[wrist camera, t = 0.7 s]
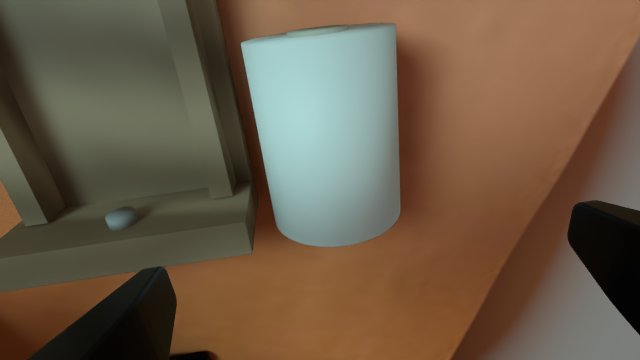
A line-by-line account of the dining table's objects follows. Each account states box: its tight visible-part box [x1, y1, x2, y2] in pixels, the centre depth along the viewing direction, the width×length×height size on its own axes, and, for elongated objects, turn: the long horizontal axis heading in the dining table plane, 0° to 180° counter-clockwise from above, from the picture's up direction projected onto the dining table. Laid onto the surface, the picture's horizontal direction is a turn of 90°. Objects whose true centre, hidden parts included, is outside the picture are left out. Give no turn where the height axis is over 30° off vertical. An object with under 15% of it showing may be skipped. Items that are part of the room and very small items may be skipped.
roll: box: [241, 23, 401, 247], centre depth 16 cm, size 8×6×6 cm
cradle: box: [0, 0, 258, 292], centre depth 15 cm, size 17×11×5 cm, turn 6°
